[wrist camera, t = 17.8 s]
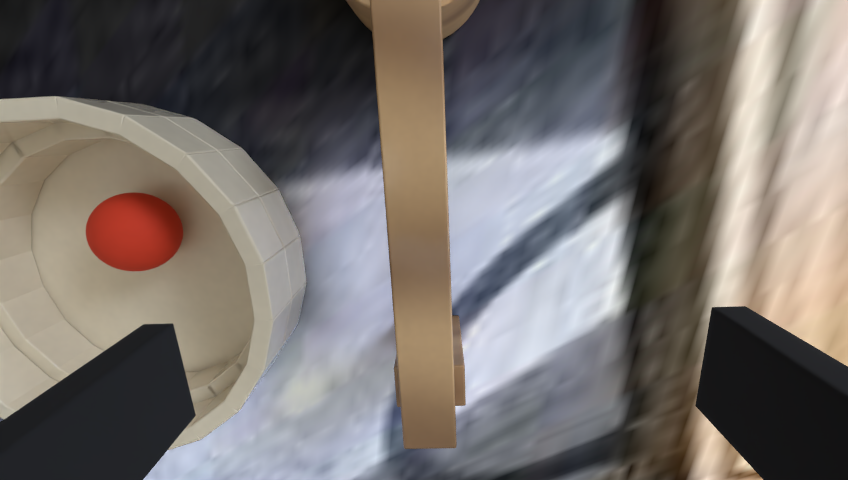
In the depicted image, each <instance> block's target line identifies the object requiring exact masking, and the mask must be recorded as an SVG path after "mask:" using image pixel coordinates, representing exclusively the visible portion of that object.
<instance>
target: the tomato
mask: <svg viewBox="0 0 848 480" xmlns="http://www.w3.org/2000/svg"><path fill="white" fill-rule="evenodd" d="M86 239H87V242H88V245H89V247H90V249H91V250H92V252H93V253H94V254H95V255H96V256H97V257H98V258H99V259H100V260H101V261H102V262H104V263H106V264H107V265H109V266H111V267H114V268H116V269H120V270H125V271H146V270H150V269H153V268H156V267H159V266H160V265H162V264H164V263H166V262H167V261H168V260H170V259H171V258H172V257H173V256H174V255H175V254H176V252H177V251H178V249H179V247H180V245H181V242H182V239H183V226H182V223H181V220H180V218H179V216H178V214H177V213H176V211H175V210H174V209H173V208H172V207H171V206H170V205H169V204H168V203H167V202H165V201H163V200H162V199H160V198H158V197H155V196H153V195H149V194H145V193H136V192H132V193H123V194H119V195H115V196H113V197H110V198H108V199H106V200H104V201H103V202H102V203H100V204H99V205H98V206H97V207H96V208H95V209H94V210H93V211H92V213H91V214H90V216H89V218H88V221H87V224H86Z"/></svg>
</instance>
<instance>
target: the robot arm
mask: <svg viewBox="0 0 848 480" xmlns="http://www.w3.org/2000/svg"><path fill="white" fill-rule="evenodd" d="M696 407H697V408H698V409H699V410H700V411H701V412H702V413H703V414H704V415H705V417H706V418H707V419H708V420H709V421H710V422H711V423H712V424H713V425H714V426H715V427H716V428H717V430H718V431H719V432H720V433H721V434H722V435H723V436H724V437H725V438H726V439H727V440H728V442H729V443H730V444H731V445H732V446H733V447H734V448H735V449H736V450H737V451H738V452H739V453H740V455H741V456H742V457H743V458H744V459H745V460H746V461H747V462H748V463H749V464H750V465H751V466H752V468H753V469H754V470H755V471H756V472H757V473H758V474H759V475H760V476H761V477H762V478H763V480H848V367H847V366H846V365H844V364H842V363H840V362H839V361H837V360H835V359H834V358H832V357H830V356H829V355H827V354H825V353H823V352H822V351H820V350H818V349H817V348H815V347H813V346H812V345H810V344H808V343H807V342H805V341H803V340H801V339H800V338H798V337H796V336H795V335H793V334H791V333H790V332H788V331H786V330H784V329H783V328H781V327H779V326H778V325H776V324H774V323H773V322H771V321H769V320H767V319H766V318H764V317H762V316H761V315H759V314H757V313H756V312H754V311H752V310H751V309H749V308H747V307H745V306H744V307H712V310H711V316H710V322H709V328H708V334H707V340H706V346H705V352H704V358H703V364H702V370H701V376H700V382H699V388H698V394H697V400H696ZM195 416H196V414H195V410H194V406H193V402H192V398H191V394H190V390H189V385H188V381H187V377H186V373H185V369H184V365H183V361H182V357H181V353H180V349H179V345H178V341H177V337H176V333H175V329H174V324H173V323H167V324H143V325H142V326H140V327H139V328H137V329H136V330H134V331H133V332H131V333H130V334H129V335H127V336H126V337H124V338H123V339H121V340H120V341H118V342H117V343H115V344H114V345H112V346H111V347H109V348H108V349H107V350H105V351H104V352H102V353H101V354H99V355H98V356H96V357H95V358H93V359H92V360H90V361H89V362H88V363H86V364H85V365H83V366H82V367H80V368H79V369H77V370H76V371H74V372H73V373H71V374H70V375H68V376H67V377H66V378H64V379H63V380H61V381H60V382H58V383H57V384H55V385H54V386H52V387H51V388H49V389H48V390H47V391H45V392H44V393H42V394H41V395H39V396H38V397H36V398H35V399H33V400H32V401H30V402H29V403H27V404H26V405H25V406H23V407H22V408H20V409H19V410H17V411H16V412H14V413H13V414H11V415H10V416H8V417H7V418H6V419H4V420H3V421H1V422H0V480H143V479H144V478H145V477H146V475H147V474H148V473H149V472H150V470H151V469H152V468H153V467H154V466H155V464H156V463H157V462H158V461H159V460H160V458H161V457H162V456H163V455H164V454H165V452H166V451H167V450H168V449H169V447H170V446H171V445H172V444H173V443H174V441H175V440H176V439H177V438H178V437H179V435H180V434H181V433H182V432H183V431H184V429H185V428H186V427H187V426H188V424H189V423H190V422H191V421H192V420H193V418H194V417H195Z"/></svg>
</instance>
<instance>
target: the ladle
mask: <svg viewBox="0 0 848 480" xmlns="http://www.w3.org/2000/svg"><path fill="white" fill-rule="evenodd" d="M346 1H347V2H348V4H349V5H350V7H351V8H352V10H353V11H354V12H355V14H356V15H357V17H358V18H359V19H360V20H361V21H362V23H363V24H364V25H365V26H366V27H367V28H369V29H370V30H371V31H372V37H373V50H374V63H375V76H376V89H377V102H378V115H379V128H380V142H381V155H382V168H383V181H384V194H385V207H386V220H387V233H388V246H389V260H390V273H391V286H392V299H393V312H394V325H395V338H396V351H397V354H396V360H395V365H394V375H395V387H396V400H397V406H398V407H401V417H402V430H403V443H404V448H405V449H424V448H456V417H455V406H463V405H465V366H464V357H463V349H462V340H461V331H460V322H459V316H458V315H453V316H452V301H451V272H450V242H449V213H448V184H447V155H446V126H445V96H444V67H443V39H444V38H446V37H447V36H449V35H451V34H452V33H454V32H455V31H456V30H457V29H459V28H460V27H461V26H462V25H463V24H464V23H465V22H466V21H467V20H468V18H469V17H470V15H471V14H472V13H473V11H474V10H475V8H476V6H477V4H478V3H479V1H480V0H346Z"/></svg>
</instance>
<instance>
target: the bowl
mask: <svg viewBox="0 0 848 480" xmlns="http://www.w3.org/2000/svg"><path fill="white" fill-rule="evenodd" d="M132 192H136V193H145V194H149V195H153V196H155V197H158V198H160V199H162V200H163V201H165V202H167V203H168V204H169V205H170V206H171V207H172V208H173V209H174V210H175V211H176V213H177V214H178V216H179V218H180V220H181V223H182V226H183V239H182V242H181V245H180V247H179V249H178V251H177V252H176V254H175V255H174V256H173V257H172V258H171V259H170V260H168V261H167V262H166V263H164V264H162V265H160V266H159V267H156V268H153V269H150V270H146V271H125V270H120V269H116V268H114V267H111V266H109V265H107V264H106V263H104V262H102V261H101V260H100V259H99V258H98V257H97V256H96V255H95V254H94V253H93V252H92V250H91V249H90V247H89V245H88V242H87V239H86V224H87V221H88V218H89V216H90V214H91V213H92V211H93V210H94V209H95V208H96V207H97V206H98V205H99V204H100V203H102V202H103V201H104V200H106V199H108V198H110V197H113V196H115V195H119V194H123V193H132ZM306 284H307V282H306V274H305V266H304V259H303V252H302V244H301V237H300V234H299V231H298V229H297V227H296V225H295V223H294V221H293V219H292V217H291V215H290V212H289V210H288V208H287V206H286V204H285V202H284V200H283V198H282V195H281V193H280V191H279V190H278V188H277V187H276V186H275V184H274V183H273V182H272V181H271V180H270V179H269V178H268V177H267V175H266V174H265V173H264V172H263V171H262V170H261V169H260V168H259V166H258V165H257V164H256V163H255V162H254V161H253V160H252V159H251V157H250V156H249V155H248V154H247V153H246V152H245V151H244V150H243V149H242V148H241V147H239V146H238V145H236V144H235V143H233V142H232V141H230V140H228V139H227V138H225V137H224V136H222V135H220V134H219V133H217V132H216V131H214V130H213V129H211V128H209V127H208V126H206V125H205V124H203V123H201V122H200V121H198V120H197V119H193V118H192V117H188V116H185V115H181V114H177V113H174V112H170V111H166V110H163V109H159V108H156V107H152V106H148V105H145V104H137V103H126V102H115V101H103V100H94V99H83V98H72V97H61V96H46V97H29V98H12V99H0V418H2V419H6V418H7V417H8V416H10V415H11V414H13V413H14V412H16V411H17V410H19V409H20V408H22V407H23V406H25V405H26V404H27V403H29V402H30V401H32V400H33V399H35V398H36V397H38V396H39V395H41V394H42V393H44V392H45V391H47V390H48V389H49V388H51V387H52V386H54V385H55V384H57V383H58V382H60V381H61V380H63V379H64V378H66V377H67V376H68V375H70V374H71V373H73V372H74V371H76V370H77V369H79V368H80V367H82V366H83V365H85V364H86V363H88V362H89V361H90V360H92V359H93V358H95V357H96V356H98V355H99V354H101V353H102V352H104V351H105V350H107V349H108V348H109V347H111V346H112V345H114V344H115V343H117V342H118V341H120V340H121V339H123V338H124V337H126V336H127V335H129V334H130V333H131V332H133V331H134V330H136V329H137V328H139V327H140V326H142V325H143V324H167V323H173V324H174V329H175V333H176V337H177V341H178V345H179V349H180V353H181V357H182V361H183V365H184V369H185V373H186V377H187V381H188V385H189V390H190V394H191V398H192V402H193V406H194V410H195V414H196V416H195V417H194V418H193V420H192V421H191V422H190V423H189V424H188V426H187V427H186V428H185V429H184V431H183V432H182V433H181V434H180V435H179V437H178V438H177V439H176V440H175V441H174V443H173V444H172V445H171V446H170V447H169V449H168V450H170V449H173V448H176V447H179V446H183V445H186V444H189V443H192V442H195V441H198V440H201V439H203V438H204V437H205V436H207V435H208V434H209V433H211V432H212V431H213V430H215V429H216V428H217V427H219V426H220V425H221V424H223V423H224V422H225V421H227V420H228V419H229V418H231V417H232V416H233V415H235V414H236V413H238V412H239V410H240V409H241V408H242V407H243V405H244V404H245V402H246V401H247V400H248V398H249V397H250V395H251V394H252V392H253V391H254V390H255V388H256V387H257V385H258V384H259V383H260V381H261V380H262V378H263V377H264V376H265V374H266V373H267V371H268V370H269V368H270V367H271V366H272V364H273V363H274V361H275V360H276V359H277V357H278V356H279V354H280V352H281V351H282V349H283V348H284V346H285V344H286V343H287V341H288V340H289V338H290V336H291V335H292V333H293V332H294V330H295V328H296V327H297V325H298V323H299V318H300V313H301V308H302V303H303V298H304V294H305V289H306Z"/></svg>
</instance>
